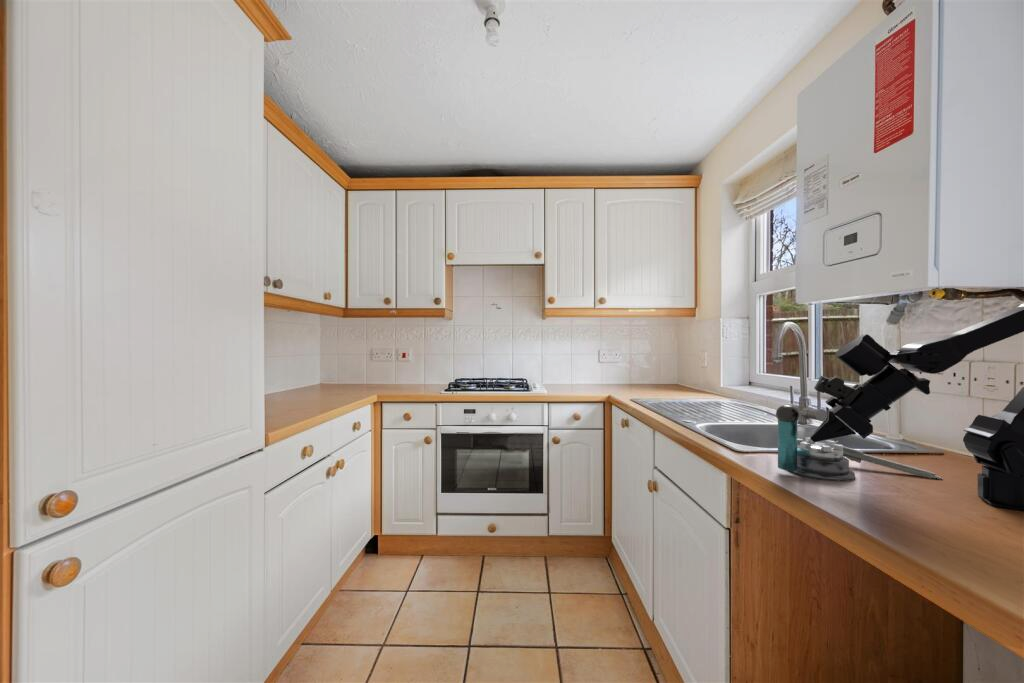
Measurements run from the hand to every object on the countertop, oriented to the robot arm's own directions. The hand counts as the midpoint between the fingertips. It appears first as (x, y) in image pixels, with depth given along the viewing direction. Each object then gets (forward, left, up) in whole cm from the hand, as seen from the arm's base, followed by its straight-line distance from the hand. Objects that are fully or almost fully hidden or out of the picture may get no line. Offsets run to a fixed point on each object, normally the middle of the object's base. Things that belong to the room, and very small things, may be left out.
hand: (812, 440), depth 87 cm
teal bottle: (+1, -5, -7) cm, 9 cm away
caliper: (-14, -17, -9) cm, 24 cm away
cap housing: (-2, -8, -9) cm, 12 cm away
